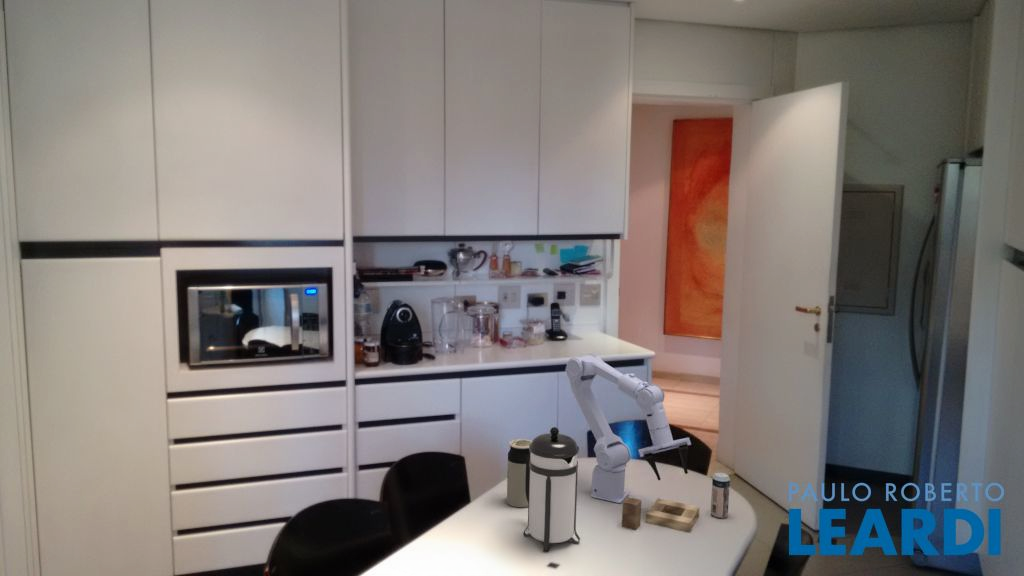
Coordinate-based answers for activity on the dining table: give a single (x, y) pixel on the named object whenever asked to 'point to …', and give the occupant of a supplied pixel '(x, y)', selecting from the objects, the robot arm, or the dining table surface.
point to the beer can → (720, 495)
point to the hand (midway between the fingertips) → (672, 476)
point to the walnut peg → (631, 513)
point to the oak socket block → (672, 515)
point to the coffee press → (552, 488)
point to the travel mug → (517, 472)
